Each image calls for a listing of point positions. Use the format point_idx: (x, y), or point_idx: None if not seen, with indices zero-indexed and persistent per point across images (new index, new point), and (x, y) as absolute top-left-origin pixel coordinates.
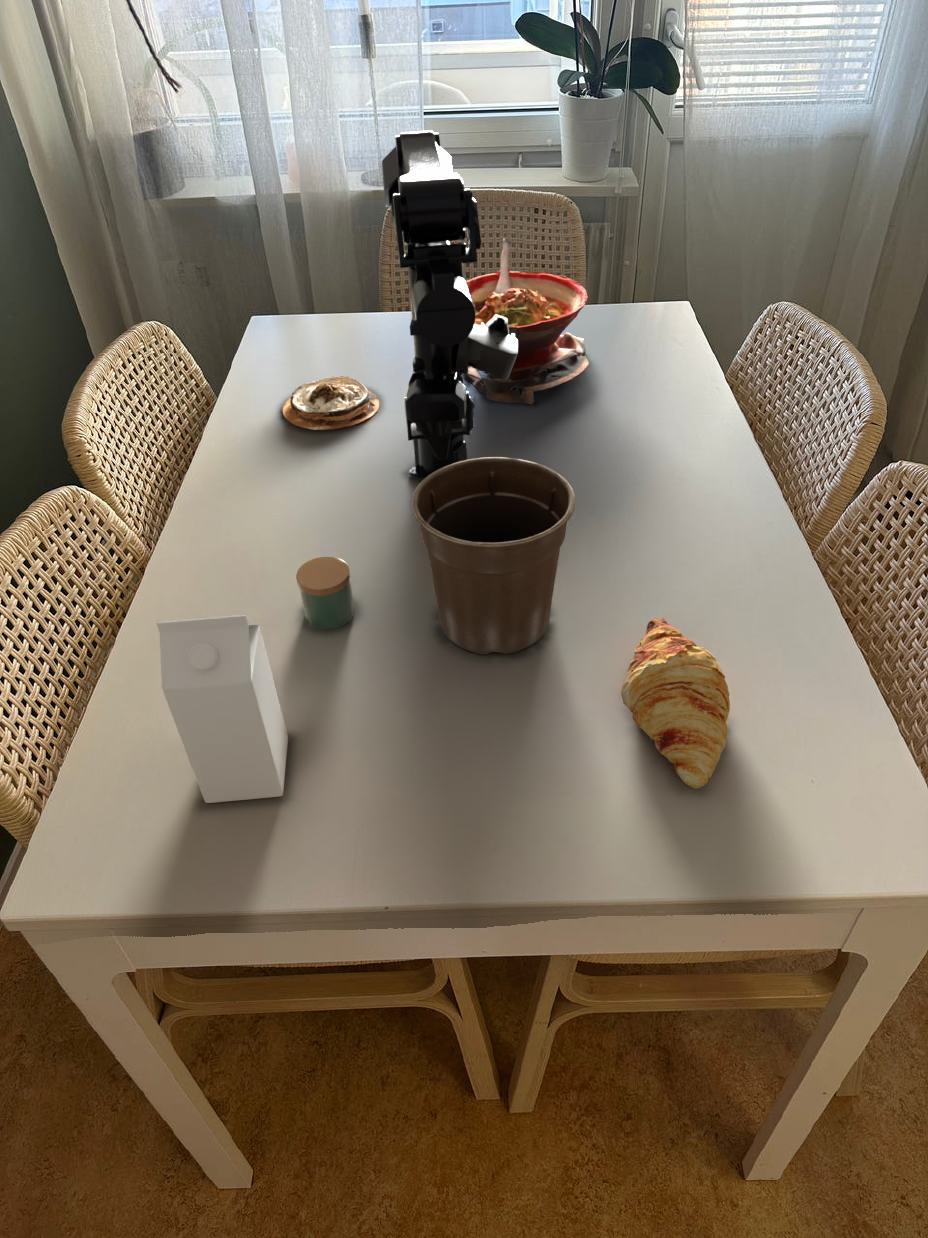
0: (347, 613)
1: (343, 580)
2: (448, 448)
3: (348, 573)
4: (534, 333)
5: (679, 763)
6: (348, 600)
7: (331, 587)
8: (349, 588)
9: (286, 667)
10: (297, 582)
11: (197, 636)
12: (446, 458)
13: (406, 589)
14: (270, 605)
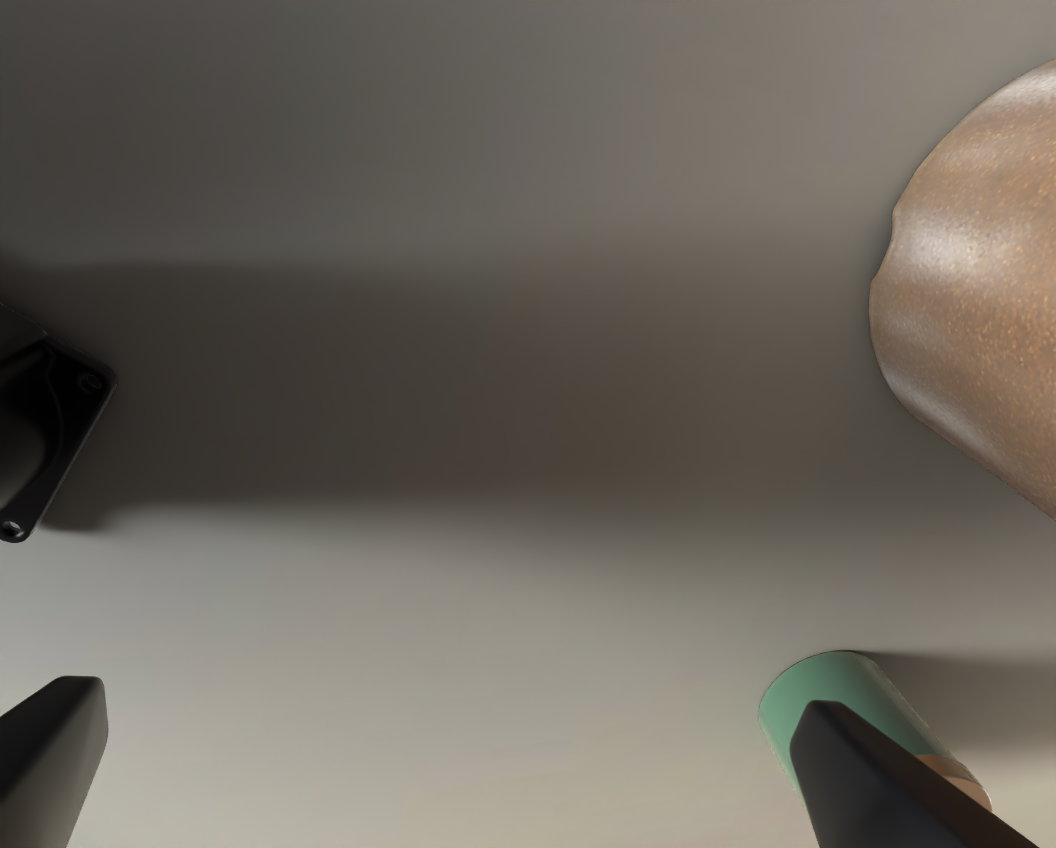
0: (891, 683)
1: (976, 784)
2: (958, 788)
3: (949, 777)
4: None
5: None
6: (907, 708)
7: (991, 806)
8: (915, 730)
9: (963, 755)
10: None
11: None
12: (843, 704)
13: (787, 528)
14: (741, 816)
